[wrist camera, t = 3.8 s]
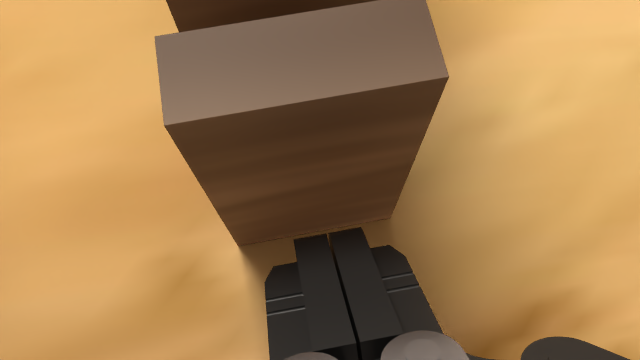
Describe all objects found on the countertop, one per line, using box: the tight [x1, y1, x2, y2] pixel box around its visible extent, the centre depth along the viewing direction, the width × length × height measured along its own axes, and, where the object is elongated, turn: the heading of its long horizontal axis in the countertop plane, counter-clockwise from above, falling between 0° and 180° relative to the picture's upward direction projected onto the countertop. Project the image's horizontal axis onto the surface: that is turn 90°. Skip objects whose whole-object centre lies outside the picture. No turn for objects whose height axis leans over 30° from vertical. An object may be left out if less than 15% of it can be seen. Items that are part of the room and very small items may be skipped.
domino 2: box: [155, 0, 449, 246], centre depth 14 cm, size 2×5×9 cm, turn 101°
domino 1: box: [166, 0, 377, 32], centre depth 16 cm, size 2×5×9 cm, turn 101°
